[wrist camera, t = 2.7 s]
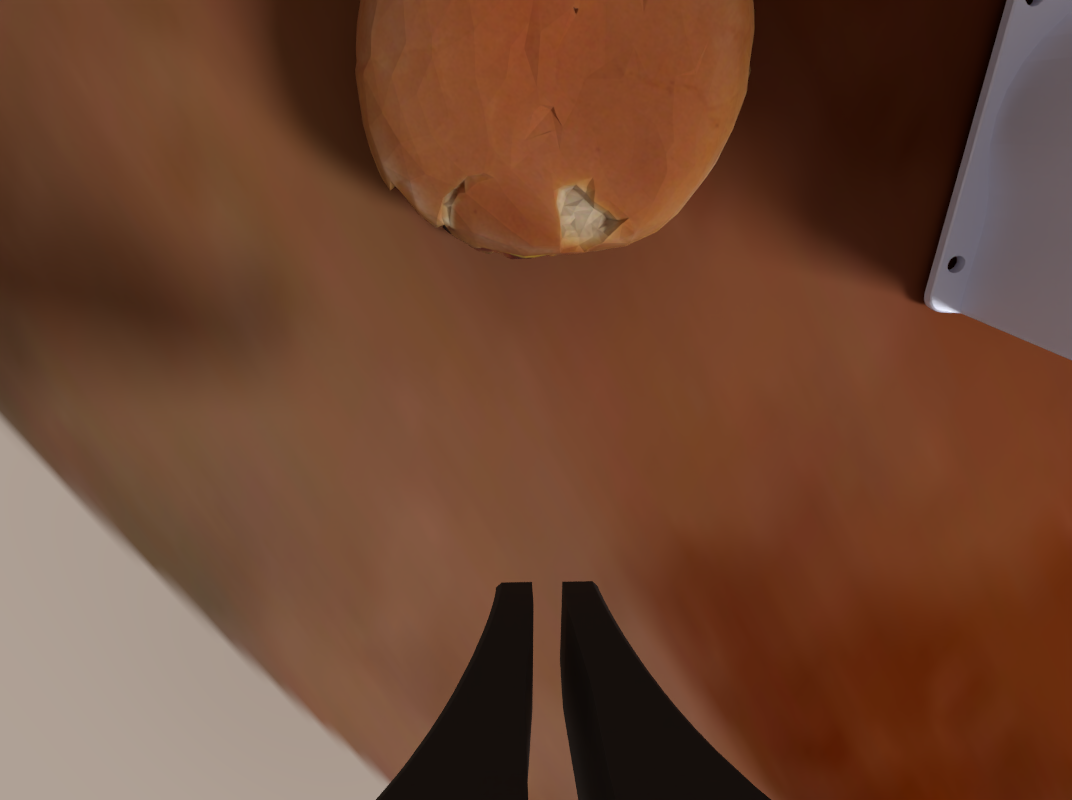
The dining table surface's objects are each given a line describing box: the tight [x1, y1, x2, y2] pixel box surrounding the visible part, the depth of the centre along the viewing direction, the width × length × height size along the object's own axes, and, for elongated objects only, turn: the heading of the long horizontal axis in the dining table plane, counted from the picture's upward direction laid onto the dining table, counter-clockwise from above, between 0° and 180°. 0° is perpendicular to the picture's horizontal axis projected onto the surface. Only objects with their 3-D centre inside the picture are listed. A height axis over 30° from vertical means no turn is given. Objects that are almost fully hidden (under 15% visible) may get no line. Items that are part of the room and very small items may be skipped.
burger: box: [355, 0, 756, 259], centre depth 16 cm, size 10×9×5 cm
